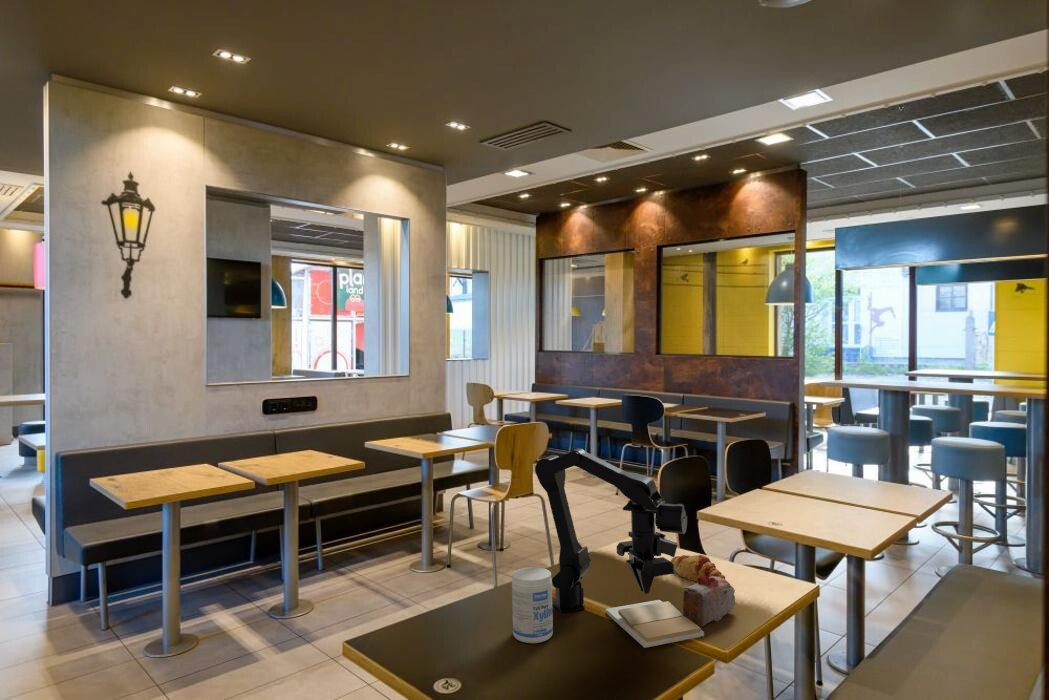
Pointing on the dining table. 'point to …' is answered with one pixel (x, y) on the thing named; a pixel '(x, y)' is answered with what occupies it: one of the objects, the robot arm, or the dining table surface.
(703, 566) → the croissant
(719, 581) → the food item
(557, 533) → the robot arm
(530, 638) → the supplement tub
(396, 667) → the dining table surface
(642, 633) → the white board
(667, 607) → the click plank
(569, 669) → the dining table surface
